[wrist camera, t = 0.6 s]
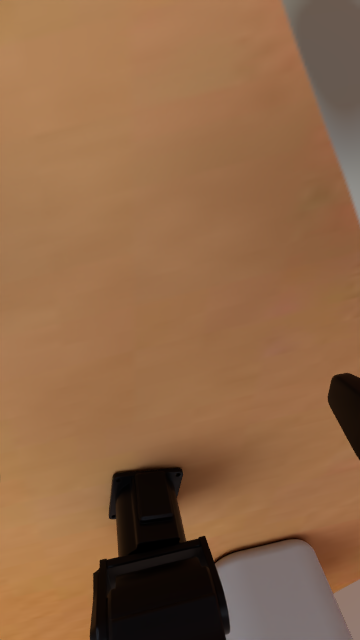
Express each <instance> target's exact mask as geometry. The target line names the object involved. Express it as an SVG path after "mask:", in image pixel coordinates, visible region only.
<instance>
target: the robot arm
mask: <svg viewBox="0 0 360 640" xmlns="http://www.w3.org/2000/svg"><path fill="white" fill-rule="evenodd" d="M328 403H329V405H330V407H331V409H332V411H333V413H334V415H335V417H336V419H337V420H338V422H339V424H340V426H341V428H342V430H343V432H344V433H345V435H346V437H347V439H348V441H349V443H350V445H351V446H352V448H353V450H354V452H355V453H356V455H357V457H358V458H359V460H360V378H359V377H357V376H354V375H352V374H350V373H343V374H338V375H335V376H333V378H332V380H331V384H330V389H329V393H328ZM182 477H183V471H182V469H181V468H170V469H159V470H147V471H136V472H125V473H116V474H114V475H113V478H112V487H111V497H110V506H109V518H110V519H116V523H117V539H118V556H119V557H117V558H113V559H108V560H107V559H102V560H100V568H99V570H97V571H96V572H95V573H93V607H92V617H91V627H90V640H226V636H225V635H227V634H229V633H230V621H229V613H228V608H227V603H226V598H225V594H224V590H223V587H222V584H221V580H220V578H219V575H218V572H217V569H216V566H215V563H214V560H213V558H212V555H211V552H210V549H209V546H208V543H207V540H206V537H205V536H202V537H199V538H198V539H195V540H190V541H186V538H185V534H184V529H183V525H182V520H181V516H180V511H179V506H178V502H177V496H178V492H179V488H180V484H181V480H182Z"/></svg>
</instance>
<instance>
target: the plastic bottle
mask: <svg viewBox="0 0 360 640" xmlns="http://www.w3.org/2000/svg"><path fill="white" fill-rule="evenodd" d="M215 566H216V569H217V572H218V575H219V578H220V580H221V584H222V587H223V590H224V594H225V598H226V603H227V608H228V613H229V621H230V633H229V634H227V635H225V636H226V640H353V638H352V636H351V634H350V631H349V629H348V627H347V624H346V622H345V620H344V618H343V615H342V613H341V611H340V608H339V606H338V604H337V602H336V599H335V597H334V595H333V592H332V590H331V588H330V586H329V583H328V581H327V579H326V576H325V574H324V572H323V570H322V567H321V565H320V563H319V561H318V558H317V556H316V554H315V551H314V549H313V548H312V547H311V546H310V545H309V544H308V543H307V542H305V541H302V540H299V539H290V540H284V541H280V542H276V543H272V544H268V545H264V546H259V547H255V548H251V549H247V550H243V551H238V552H235V553H232V554H229V555H227V556H225V557H223V558H222V559H220V560H219V561H217V562H216V563H215Z"/></svg>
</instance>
